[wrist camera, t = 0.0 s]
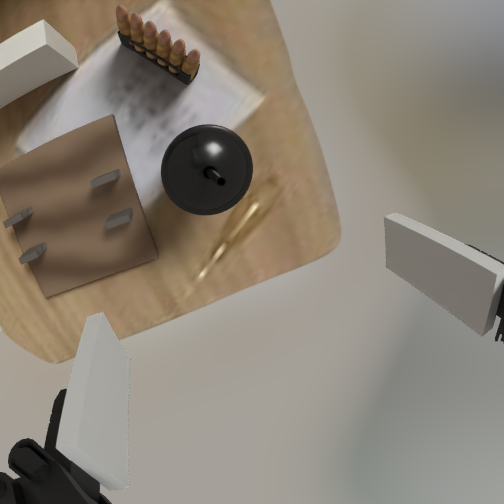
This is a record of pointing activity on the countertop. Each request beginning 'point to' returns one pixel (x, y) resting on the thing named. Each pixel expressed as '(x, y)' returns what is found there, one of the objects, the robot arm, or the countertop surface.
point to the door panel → (33, 60)
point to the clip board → (76, 208)
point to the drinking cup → (206, 169)
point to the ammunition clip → (157, 46)
